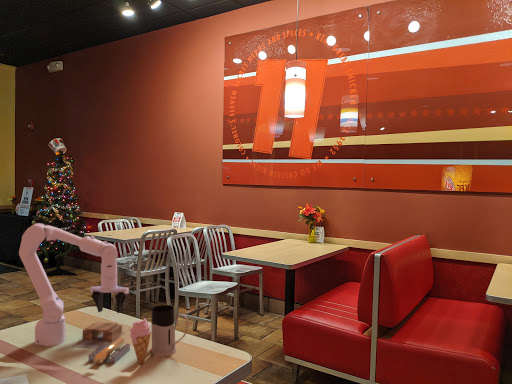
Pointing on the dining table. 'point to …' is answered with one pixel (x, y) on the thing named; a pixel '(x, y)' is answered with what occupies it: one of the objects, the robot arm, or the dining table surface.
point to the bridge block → (99, 335)
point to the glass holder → (164, 330)
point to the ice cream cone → (140, 339)
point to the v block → (113, 357)
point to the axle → (108, 350)
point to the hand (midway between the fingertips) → (109, 311)
